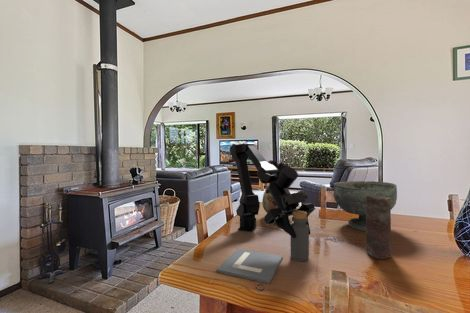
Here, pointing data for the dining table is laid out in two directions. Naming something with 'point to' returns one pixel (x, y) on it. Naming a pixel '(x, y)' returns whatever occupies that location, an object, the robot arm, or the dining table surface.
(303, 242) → the bottle
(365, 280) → the dining table surface
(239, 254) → the pad
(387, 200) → the candle
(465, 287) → the dining table surface
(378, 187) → the decorative bowl
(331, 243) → the dining table surface
